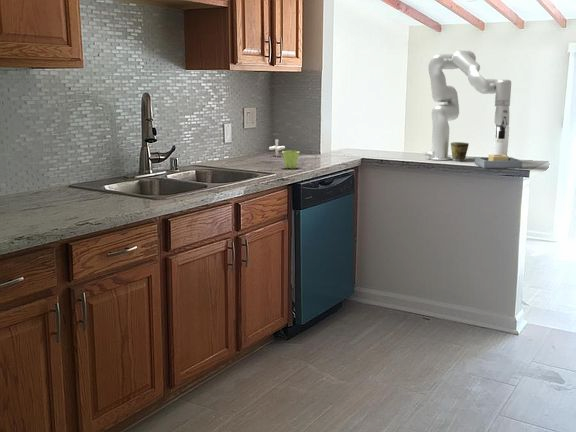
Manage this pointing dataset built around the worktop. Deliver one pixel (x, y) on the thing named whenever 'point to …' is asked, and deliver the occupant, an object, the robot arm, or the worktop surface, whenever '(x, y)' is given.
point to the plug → (498, 134)
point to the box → (498, 162)
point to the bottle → (501, 147)
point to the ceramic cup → (459, 150)
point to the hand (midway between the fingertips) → (500, 138)
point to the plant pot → (290, 158)
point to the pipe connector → (276, 147)
